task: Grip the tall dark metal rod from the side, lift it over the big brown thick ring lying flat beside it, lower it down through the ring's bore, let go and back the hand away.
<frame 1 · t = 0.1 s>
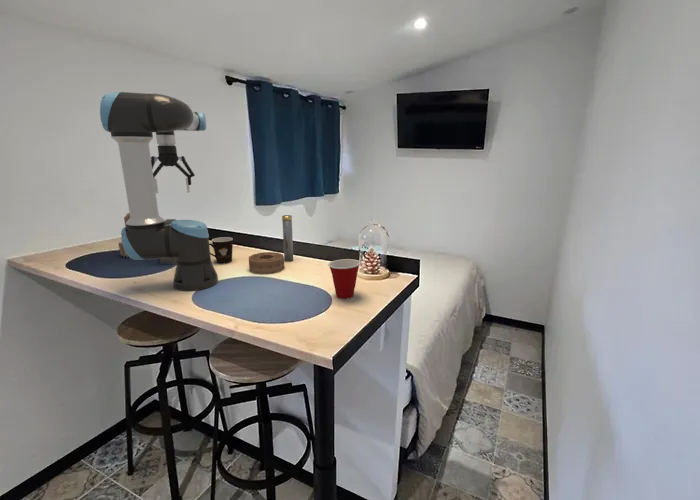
hand: (172, 192, 169), 28 cm above the table, tool pointing down, fingers open, 13 cm apart
coffee mug: (221, 261, 161), on the table
metal rod: (288, 260, 162), on the table
plastic cup: (344, 296, 124), on the table
alarm clock: (175, 260, 163), on the table
brown thick ring: (266, 268, 151), on the table
wooden toy: (141, 254, 172), on the table
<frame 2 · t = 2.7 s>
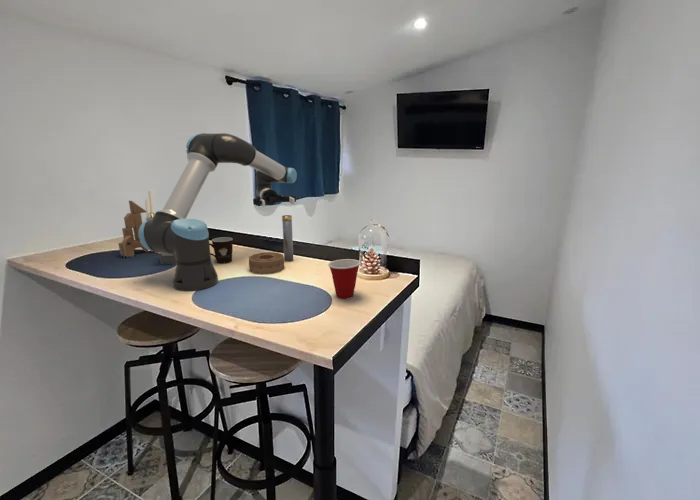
hand: (279, 202, 164), 24 cm above the table, tool horizontal, fingers open, 13 cm apart
nothing on the table moved.
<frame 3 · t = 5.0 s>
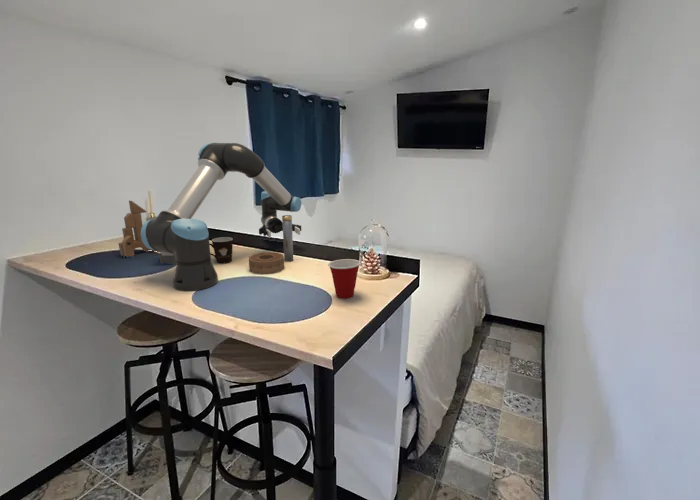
hand: (284, 233, 165), 11 cm above the table, tool horizontal, fingers open, 13 cm apart
nothing on the table moved.
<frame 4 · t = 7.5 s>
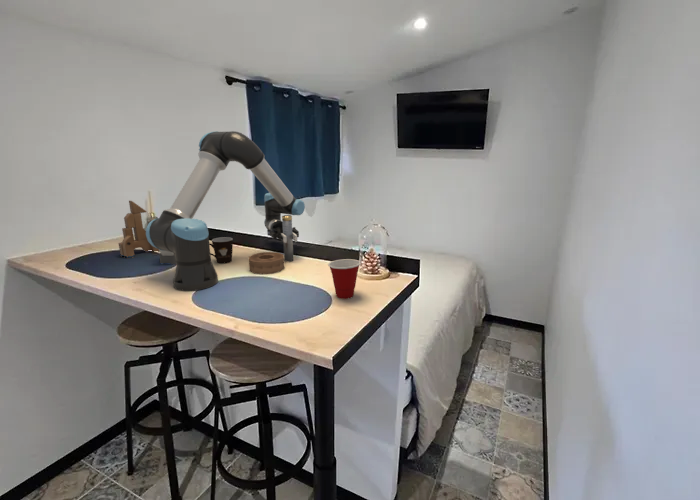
hand: (291, 239, 155), 11 cm above the table, tool horizontal, fingers closed on metal rod, 4 cm apart
metal rod: (288, 260, 162), on the table, touching gripper
everything else where it was.
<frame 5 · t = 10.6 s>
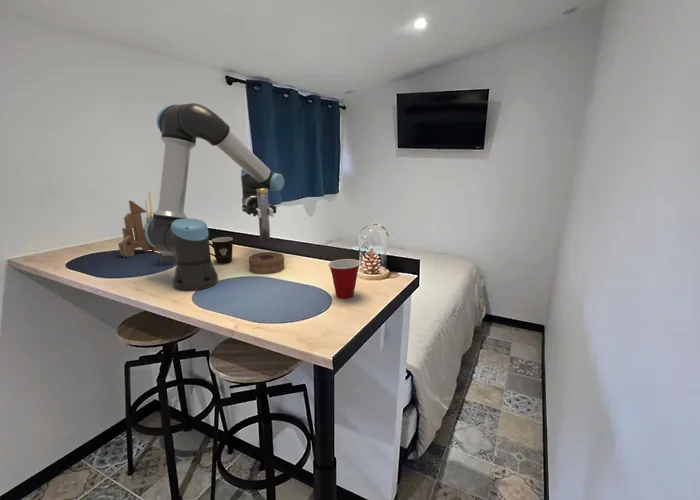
hand: (266, 213, 140), 24 cm above the table, tool horizontal, fingers closed on metal rod, 4 cm apart
metal rod: (265, 238, 148), point 13 cm above the table, touching gripper
everything else where it was.
when the fingers open (12 cm above the table, at t = 13.5 s): metal rod drops 1 cm, resting in brown thick ring.
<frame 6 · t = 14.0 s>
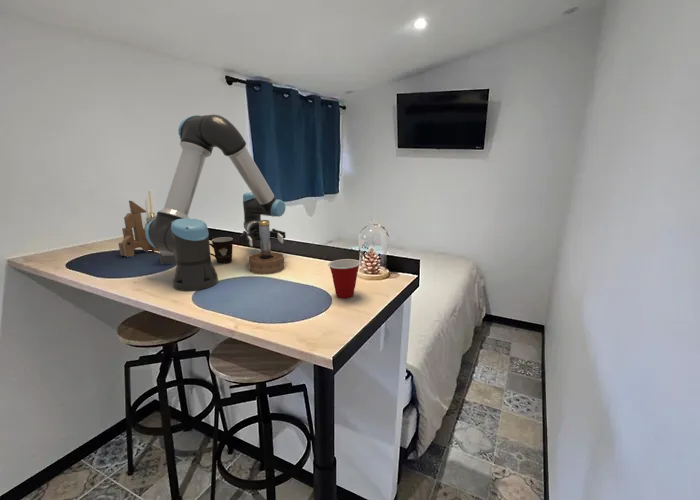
hand: (267, 241, 145), 12 cm above the table, tool horizontal, fingers open, 11 cm apart
metal rod: (266, 268, 151), resting in brown thick ring
everything else where it was.
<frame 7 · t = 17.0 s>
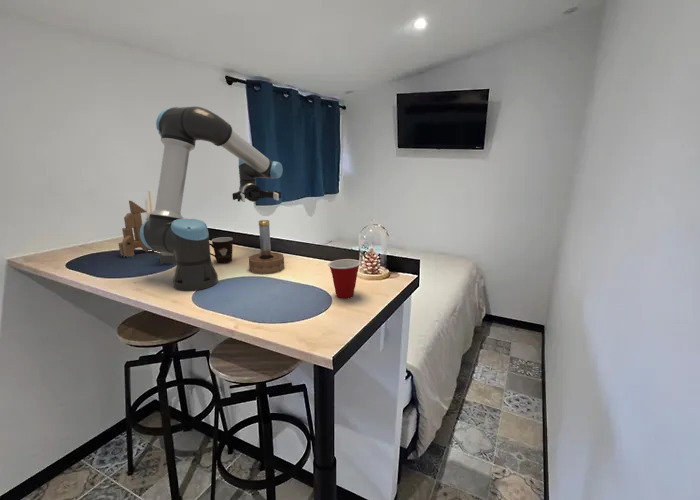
hand: (261, 197, 147), 29 cm above the table, tool horizontal, fingers open, 13 cm apart
nothing on the table moved.
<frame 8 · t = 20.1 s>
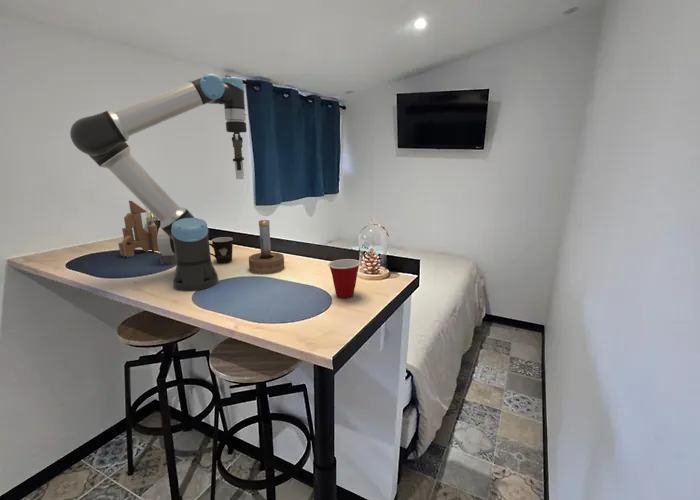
hand: (240, 177, 146), 37 cm above the table, tool pointing down, fingers open, 13 cm apart
nothing on the table moved.
at the end: metal rod 0.1 cm off-centre on the brown thick ring, point 0.0 cm above the brown thick ring's base; metal rod tilted 0°; the gripper is holding nothing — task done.
